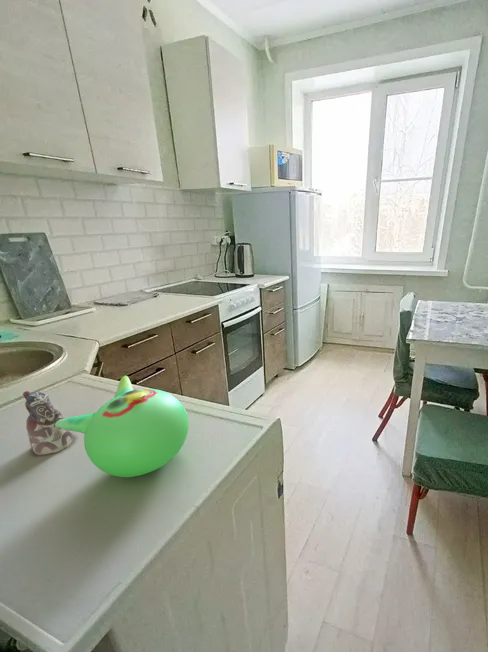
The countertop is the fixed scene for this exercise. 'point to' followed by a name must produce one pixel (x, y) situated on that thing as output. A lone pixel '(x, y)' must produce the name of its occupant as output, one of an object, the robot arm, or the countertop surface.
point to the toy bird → (132, 430)
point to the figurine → (44, 425)
